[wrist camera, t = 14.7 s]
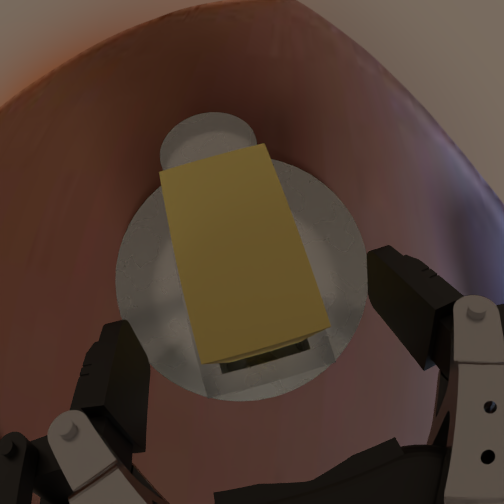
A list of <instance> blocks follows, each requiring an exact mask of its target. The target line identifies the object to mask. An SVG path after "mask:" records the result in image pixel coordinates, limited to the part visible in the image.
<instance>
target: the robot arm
mask: <svg viewBox="0 0 504 504" xmlns="http://www.w3.org/2000/svg"><path fill="white" fill-rule="evenodd" d="M367 281H368V295H369V299H370V302H371V304H372V306H373V308H374V309H375V310H376V311H377V313H378V314H379V315H380V316H381V317H382V319H383V320H384V321H385V322H386V324H387V325H388V326H389V327H390V329H391V330H392V331H393V332H394V333H395V335H396V336H397V337H398V338H399V340H400V341H401V342H402V343H403V345H404V346H405V347H406V349H407V350H408V351H409V352H410V354H411V355H412V356H413V357H414V359H415V360H416V361H417V363H418V364H419V365H420V366H421V368H422V369H423V370H424V371H425V370H427V369H429V368H430V367H432V366H434V365H437V367H438V368H439V369H440V370H439V373H438V380H437V390H436V399H435V407H434V414H433V421H432V426H431V431H430V434H429V437H428V441H427V445H409V446H402V447H400V445H399V444H398V442H397V440H396V438H395V437H394V438H392V439H390V440H388V441H386V442H383V443H381V444H379V445H377V446H374V447H372V448H370V449H367V450H365V451H362V452H360V453H357V454H355V455H353V456H351V457H350V458H348V459H347V460H345V461H343V462H342V463H340V464H339V465H337V466H336V467H334V468H332V469H331V470H329V471H327V472H326V473H324V474H322V475H321V476H319V477H317V478H316V479H314V480H311V481H308V482H297V483H277V484H256V485H252V486H247V487H242V488H237V489H232V490H227V491H221V492H215V493H214V499H215V504H504V304H501V305H495V304H494V303H493V302H492V301H491V300H489V299H487V298H485V297H482V296H478V295H469V296H463V295H462V294H461V293H459V292H458V291H457V290H456V289H455V288H454V287H452V286H451V285H450V284H449V283H448V282H446V281H445V280H444V279H443V278H441V277H440V276H439V275H438V276H437V273H435V272H434V271H433V270H432V269H429V267H428V266H427V265H425V264H424V263H423V262H422V261H420V260H419V259H416V258H413V257H411V256H408V255H404V256H403V255H402V254H400V253H399V252H398V251H397V250H395V249H394V248H393V247H391V246H389V245H387V246H384V247H381V248H378V249H375V250H371V251H369V252H368V253H367ZM149 381H150V364H149V360H148V357H147V354H146V353H145V351H144V349H143V347H142V345H141V344H140V342H139V340H138V338H137V336H136V334H135V332H134V331H133V329H132V327H131V325H130V323H129V322H128V321H127V320H120V321H116V322H112V323H108V324H105V325H104V326H103V329H102V332H101V335H100V338H99V341H98V342H95V343H94V344H93V345H92V347H91V348H90V349H89V351H88V352H87V353H86V356H85V359H84V362H83V368H82V369H81V372H80V377H79V379H78V382H77V386H76V389H75V393H74V396H73V400H72V404H71V408H70V411H67V412H64V413H62V414H61V415H59V416H58V417H57V418H56V419H55V420H54V421H53V422H52V424H51V425H50V428H49V430H48V435H47V436H44V437H41V438H39V439H36V440H33V441H31V442H30V441H29V440H28V439H27V438H26V437H25V436H23V435H22V434H21V433H19V432H11V433H8V434H7V435H5V436H4V437H3V438H2V439H1V440H0V504H31V500H32V493H33V492H34V493H35V494H37V495H38V496H39V497H41V499H40V504H170V503H169V502H168V501H167V500H166V499H165V498H164V497H163V496H162V495H161V494H160V493H159V492H158V491H157V490H156V489H155V488H154V486H153V485H152V484H151V483H150V482H149V481H148V480H147V479H146V478H145V476H144V475H143V474H142V473H141V472H140V471H139V469H138V468H137V467H136V466H135V465H134V464H133V463H132V453H141V452H145V449H146V426H147V409H148V394H149Z"/></svg>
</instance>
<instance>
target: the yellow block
mask: <svg viewBox="0 0 504 504" xmlns="http://www.w3.org/2000/svg"><path fill="white" fill-rule="evenodd" d="M159 175H160V181H161V186H162V192H163V198H164V203H165V209H166V214H167V219H168V225H169V230H170V235H171V240H172V245H173V249H174V254H175V259H176V263H177V268H178V273H179V277H180V281H181V286H182V290H183V294H184V299H185V303H186V307H187V311H188V315H189V319H190V323H191V327H192V331H193V335H194V339H195V343H196V346H197V350H198V354H199V358H200V361H201V364H215V363H227V362H233V361H237V360H240V359H244V358H248V357H251V356H255V355H258V354H262V353H265V352H269V351H272V350H275V349H279V348H282V347H285V346H288V345H292V344H295V343H298V342H301V341H303V340H305V339H307V338H309V337H311V336H313V335H315V334H317V333H319V332H321V331H323V330H325V329H327V328H329V327H331V324H330V321H329V318H328V315H327V312H326V309H325V306H324V303H323V300H322V297H321V294H320V291H319V288H318V285H317V283H316V280H315V277H314V274H313V271H312V268H311V265H310V262H309V260H308V257H307V254H306V251H305V248H304V246H303V243H302V240H301V237H300V235H299V232H298V229H297V226H296V224H295V221H294V218H293V215H292V213H291V210H290V207H289V205H288V202H287V200H286V197H285V194H284V192H283V189H282V186H281V184H280V181H279V179H278V176H277V174H276V171H275V168H274V166H273V163H272V161H271V158H270V156H269V153H268V151H267V148H266V146H265V143H263V144H259V145H255V146H250V147H246V148H242V149H238V150H234V151H230V152H227V153H223V154H219V155H215V156H212V157H208V158H204V159H201V160H197V161H194V162H190V163H187V164H184V165H180V166H177V167H174V168H170V169H167V170H164V171H161V172H159Z"/></svg>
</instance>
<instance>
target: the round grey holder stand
mask: <svg viewBox="0 0 504 504" xmlns="http://www.w3.org/2000/svg"><path fill="white" fill-rule="evenodd" d="M255 145H257V141H256V137H255V134H254V132H253V130H252V129H251V128H250V126H249V125H248V124H247V123H246V122H244V121H243V120H242V119H240V118H238V117H236V116H234V115H231V114H227V113H221V112H208V113H202V114H198V115H195V116H192V117H190V118H187V119H185V120H184V121H182V122H180V123H179V124H178V125H176V126H175V127H174V128H173V129H172V130H171V131H170V132H169V133H168V135H167V136H166V138H165V139H164V141H163V144H162V146H161V150H160V162H161V166H162V168H163V170H167V169H170V168H174V167H177V166H180V165H184V164H187V163H190V162H194V161H197V160H201V159H204V158H208V157H212V156H215V155H219V154H223V153H227V152H230V151H234V150H238V149H242V148H246V147H250V146H255ZM271 161H272V163H273V166H274V168H275V171H276V174H277V176H278V179H279V181H280V184H281V186H282V189H283V192H284V194H285V197H286V200H287V202H288V205H289V207H290V210H291V213H292V215H293V218H294V221H295V224H296V226H297V229H298V232H299V235H300V237H301V240H302V243H303V246H304V248H305V251H306V254H307V257H308V260H309V262H310V265H311V268H312V271H313V274H314V277H315V280H316V283H317V285H318V288H319V291H320V294H321V297H322V300H323V303H324V306H325V309H326V312H327V315H328V318H329V321H330V324H331V327H329V328H327V329H325V330H323V331H321V332H319V333H317V334H315V335H313V336H311V337H309V338H307V339H305V340H303V341H301V342H298V343H295V344H292V345H288V346H285V347H282V348H279V349H275V350H272V351H269V352H265V353H262V354H258V355H255V356H251V357H248V358H244V359H240V360H237V361H233V362H227V363H215V364H201V361H200V358H199V354H198V350H197V346H196V343H195V339H194V335H193V331H192V327H191V323H190V319H189V315H188V311H187V307H186V303H185V299H184V294H183V290H182V286H181V281H180V277H179V273H178V268H177V263H176V259H175V254H174V249H173V245H172V240H171V235H170V230H169V225H168V219H167V214H166V209H165V203H164V198H163V192H162V186H160V187H159V188H158V189H157V190H156V191H155V192H154V193H153V194H152V195H151V196H150V197H149V198H148V199H147V200H146V201H145V202H144V203H143V205H142V206H141V207H140V208H139V210H138V211H137V213H136V214H135V216H134V217H133V219H132V221H131V222H130V224H129V226H128V229H127V231H126V233H125V235H124V237H123V240H122V244H121V247H120V250H119V254H118V260H117V266H116V294H117V301H118V306H119V310H120V314H121V317H122V320H127V321H128V322H129V323H130V325H131V327H132V329H133V331H134V332H135V334H136V336H137V338H138V340H139V342H140V344H141V345H142V347H143V349H144V351H145V353H146V354H147V357H148V360H149V363H150V364H151V365H152V366H153V367H154V368H155V369H156V370H157V371H158V372H159V373H161V374H162V375H163V376H165V377H166V378H167V379H169V380H170V381H172V382H174V383H175V384H177V385H179V386H181V387H183V388H184V389H186V390H189V391H191V392H194V393H197V394H199V395H202V396H206V397H207V398H215V399H219V400H229V401H252V400H261V399H265V398H270V397H275V396H278V395H281V394H284V393H286V392H289V391H292V390H294V389H296V388H298V387H300V386H302V385H304V384H306V383H307V382H309V381H311V380H312V379H313V378H315V377H316V376H318V375H319V374H320V373H322V372H323V371H324V370H325V369H326V368H328V367H329V366H330V365H331V364H332V363H334V362H336V361H335V360H336V359H337V358H338V356H339V355H340V354H341V353H342V351H343V350H344V349H345V347H346V346H347V345H348V343H349V341H350V340H351V338H352V336H353V334H354V333H355V331H356V329H357V327H358V324H359V322H360V319H361V317H362V314H363V311H364V307H365V302H366V298H367V291H368V281H367V256H366V251H365V246H364V243H363V240H362V237H361V234H360V231H359V229H358V227H357V225H356V223H355V221H354V219H353V217H352V216H351V214H350V213H349V211H348V210H347V208H346V207H345V205H344V204H343V203H342V202H341V200H340V199H339V198H338V197H337V196H336V195H335V194H334V193H333V192H332V191H331V190H330V189H329V188H328V187H327V186H326V185H324V184H323V183H322V182H321V181H319V180H318V179H316V178H315V177H313V176H312V175H310V174H309V173H307V172H305V171H303V170H301V169H299V168H297V167H295V166H292V165H290V164H287V163H284V162H281V161H277V160H273V159H271Z"/></svg>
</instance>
